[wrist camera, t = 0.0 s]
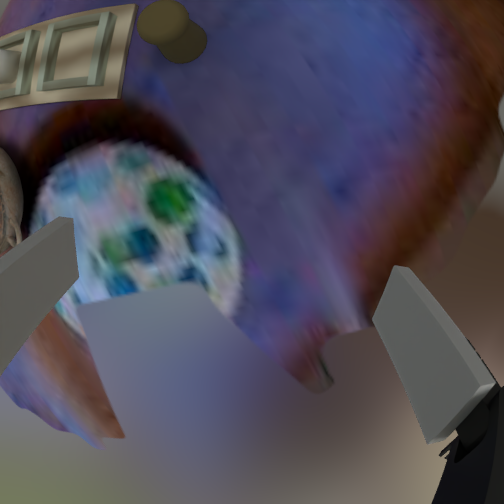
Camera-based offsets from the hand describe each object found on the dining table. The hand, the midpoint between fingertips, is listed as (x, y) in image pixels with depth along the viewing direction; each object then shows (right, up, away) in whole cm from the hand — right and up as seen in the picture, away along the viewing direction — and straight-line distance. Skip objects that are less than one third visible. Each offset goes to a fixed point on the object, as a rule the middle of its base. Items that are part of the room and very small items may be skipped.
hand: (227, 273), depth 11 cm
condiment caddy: (-30, +29, +17) cm, 45 cm away
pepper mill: (-8, +27, +19) cm, 34 cm away
